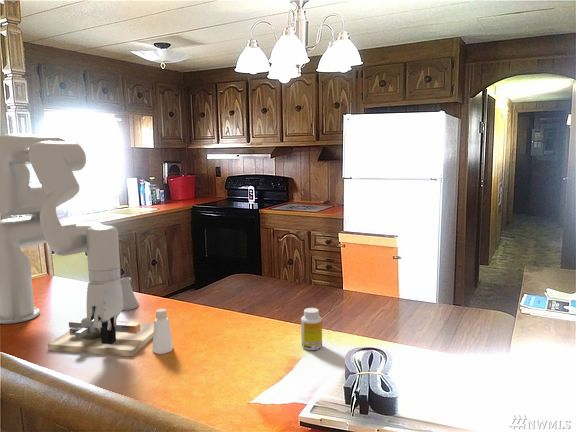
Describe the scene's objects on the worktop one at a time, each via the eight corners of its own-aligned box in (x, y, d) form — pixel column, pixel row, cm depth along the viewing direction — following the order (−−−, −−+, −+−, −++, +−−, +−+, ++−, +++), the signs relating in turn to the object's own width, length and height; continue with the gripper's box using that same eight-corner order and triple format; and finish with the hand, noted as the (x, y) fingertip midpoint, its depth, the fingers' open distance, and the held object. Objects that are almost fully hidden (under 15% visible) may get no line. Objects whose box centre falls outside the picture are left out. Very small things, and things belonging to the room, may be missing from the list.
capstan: (54, 343, 118) (53, 327, 117) (86, 323, 131) (85, 309, 131) (125, 348, 115) (124, 332, 114) (150, 327, 128) (149, 313, 128)
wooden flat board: (48, 349, 118) (47, 339, 118) (88, 324, 136) (87, 314, 135) (132, 356, 115) (131, 345, 114) (162, 329, 132) (162, 319, 132)
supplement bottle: (326, 348, 119) (325, 311, 118) (307, 352, 116) (307, 314, 115) (315, 341, 124) (315, 305, 123) (298, 345, 121) (297, 308, 120)
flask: (131, 311, 147) (130, 282, 145) (111, 310, 148) (109, 281, 147) (142, 304, 154) (141, 276, 152) (123, 303, 155) (122, 275, 154)
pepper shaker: (154, 355, 115) (152, 315, 113) (150, 347, 120) (148, 308, 118) (175, 351, 117) (173, 311, 116) (170, 343, 122) (169, 305, 120)
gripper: (107, 266, 122) (111, 330, 124) (72, 282, 107) (78, 354, 109) (133, 267, 120) (136, 332, 123) (101, 283, 106) (106, 356, 108)
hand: (108, 342), depth 116 cm, fingers closed
